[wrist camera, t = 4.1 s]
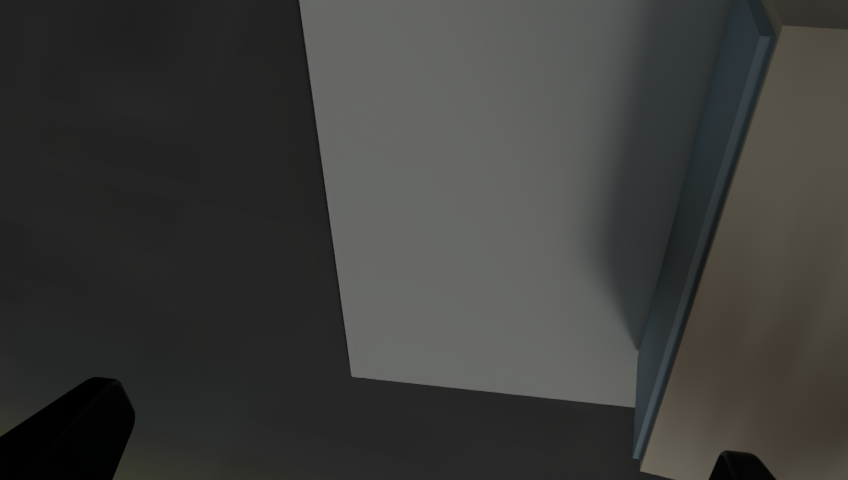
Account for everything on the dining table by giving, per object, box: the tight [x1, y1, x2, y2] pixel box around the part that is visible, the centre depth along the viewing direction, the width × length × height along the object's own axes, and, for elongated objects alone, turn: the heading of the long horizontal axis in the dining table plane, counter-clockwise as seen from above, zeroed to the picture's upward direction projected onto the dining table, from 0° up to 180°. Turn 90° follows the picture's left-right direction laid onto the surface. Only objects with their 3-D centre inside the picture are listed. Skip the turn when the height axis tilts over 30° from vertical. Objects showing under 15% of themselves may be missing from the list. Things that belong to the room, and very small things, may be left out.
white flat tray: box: [299, 0, 733, 407], centre depth 14 cm, size 14×18×1 cm
